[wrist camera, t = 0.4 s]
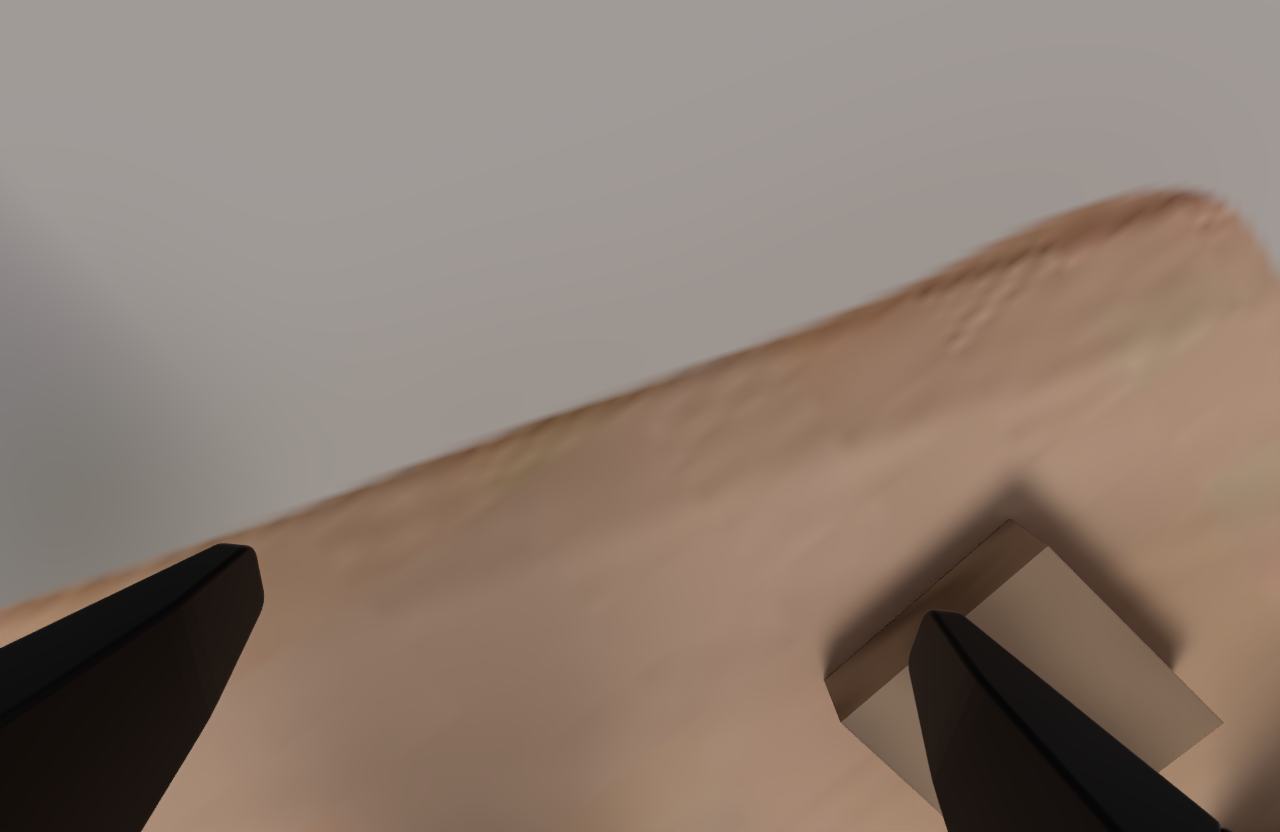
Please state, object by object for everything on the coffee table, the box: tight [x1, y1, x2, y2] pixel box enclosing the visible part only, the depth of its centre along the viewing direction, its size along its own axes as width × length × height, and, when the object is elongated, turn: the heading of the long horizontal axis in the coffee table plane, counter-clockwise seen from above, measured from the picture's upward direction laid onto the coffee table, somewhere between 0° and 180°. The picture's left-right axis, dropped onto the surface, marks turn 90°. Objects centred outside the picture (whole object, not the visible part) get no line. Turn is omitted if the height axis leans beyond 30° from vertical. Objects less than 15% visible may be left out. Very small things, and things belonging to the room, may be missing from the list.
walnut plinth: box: [824, 519, 1224, 816], centre depth 25 cm, size 9×9×2 cm
